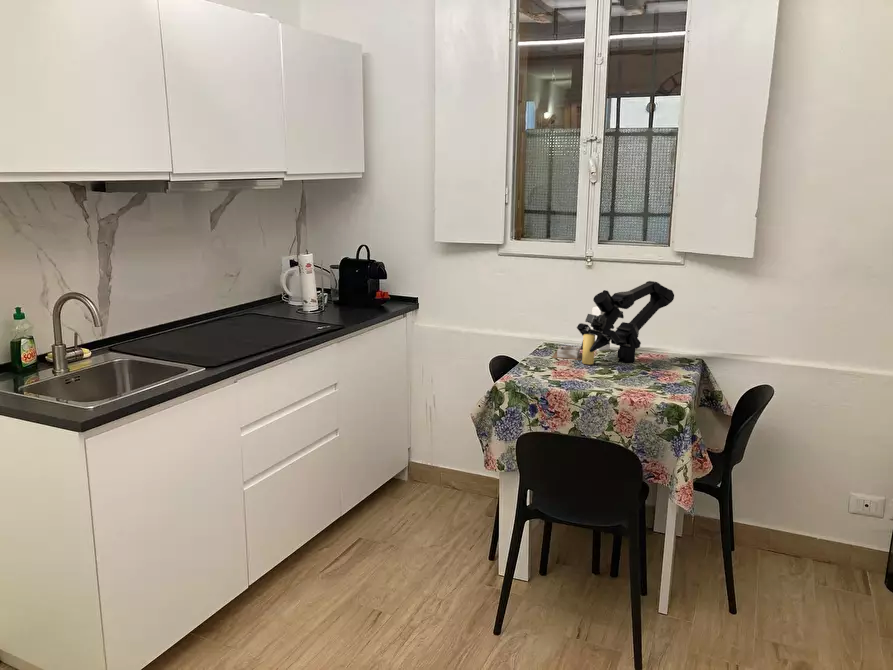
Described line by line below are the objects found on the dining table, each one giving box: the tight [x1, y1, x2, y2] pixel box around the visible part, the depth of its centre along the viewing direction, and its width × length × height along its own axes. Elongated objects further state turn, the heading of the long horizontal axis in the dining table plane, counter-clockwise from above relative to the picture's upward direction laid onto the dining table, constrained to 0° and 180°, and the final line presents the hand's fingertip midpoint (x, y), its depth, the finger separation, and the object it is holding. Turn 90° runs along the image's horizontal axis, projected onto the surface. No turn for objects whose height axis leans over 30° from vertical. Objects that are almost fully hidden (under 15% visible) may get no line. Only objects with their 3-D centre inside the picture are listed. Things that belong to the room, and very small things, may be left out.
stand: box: [551, 345, 583, 361], centre depth 290 cm, size 12×12×4 cm
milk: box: [590, 304, 612, 351], centre depth 303 cm, size 6×6×22 cm
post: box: [581, 334, 595, 365], centre depth 275 cm, size 4×4×11 cm
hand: (585, 350), depth 274 cm, fingers closed on post, 4 cm apart
